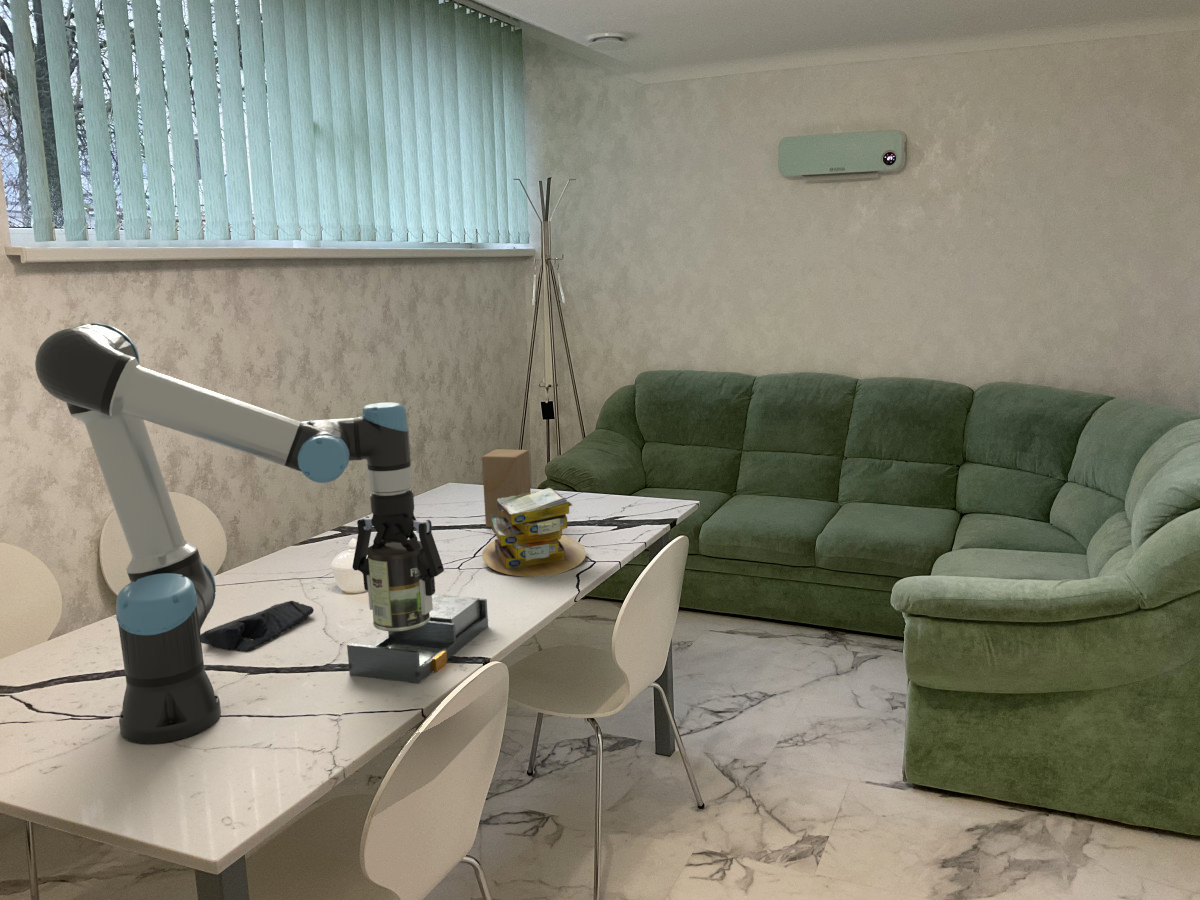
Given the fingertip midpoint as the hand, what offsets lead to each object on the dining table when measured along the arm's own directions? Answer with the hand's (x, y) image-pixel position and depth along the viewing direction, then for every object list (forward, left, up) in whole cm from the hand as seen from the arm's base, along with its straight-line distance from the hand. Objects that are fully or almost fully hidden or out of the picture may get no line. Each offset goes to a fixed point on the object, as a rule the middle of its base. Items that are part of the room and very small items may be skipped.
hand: (401, 609), depth 182 cm
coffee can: (0, 0, -2) cm, 2 cm away
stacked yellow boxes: (+63, +1, -11) cm, 64 cm away
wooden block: (+93, +21, -11) cm, 96 cm away
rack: (+7, 0, -10) cm, 12 cm away
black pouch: (+8, +38, -11) cm, 40 cm away
